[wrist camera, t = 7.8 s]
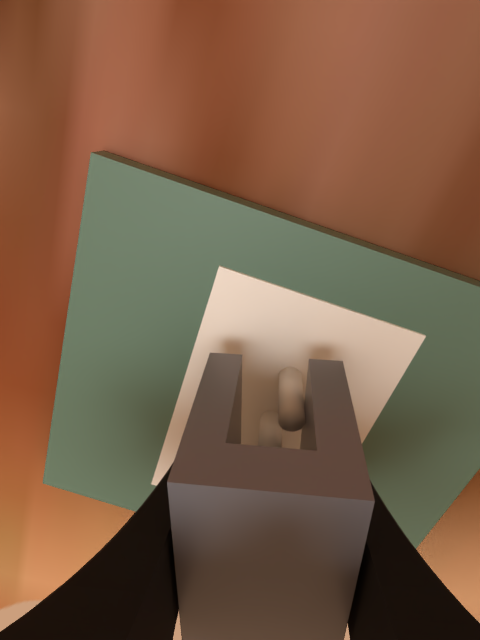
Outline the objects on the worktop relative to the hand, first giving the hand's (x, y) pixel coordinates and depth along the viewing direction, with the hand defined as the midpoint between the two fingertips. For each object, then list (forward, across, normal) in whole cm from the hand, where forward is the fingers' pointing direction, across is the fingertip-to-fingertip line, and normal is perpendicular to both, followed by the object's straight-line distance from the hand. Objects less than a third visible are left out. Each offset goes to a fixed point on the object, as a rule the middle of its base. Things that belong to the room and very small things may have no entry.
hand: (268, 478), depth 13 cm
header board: (+4, 0, 0) cm, 4 cm away
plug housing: (+2, 0, 0) cm, 2 cm away
